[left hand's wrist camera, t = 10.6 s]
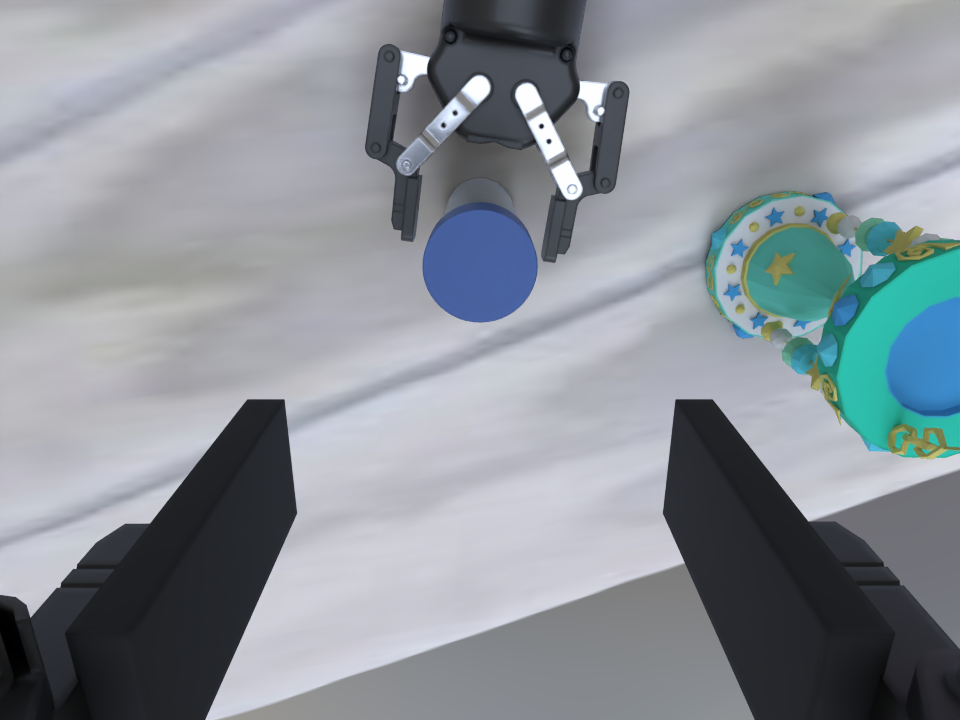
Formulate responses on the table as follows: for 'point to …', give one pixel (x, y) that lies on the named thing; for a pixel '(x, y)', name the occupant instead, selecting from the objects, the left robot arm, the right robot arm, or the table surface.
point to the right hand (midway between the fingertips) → (478, 249)
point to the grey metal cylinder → (480, 194)
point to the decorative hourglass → (850, 314)
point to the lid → (480, 262)
